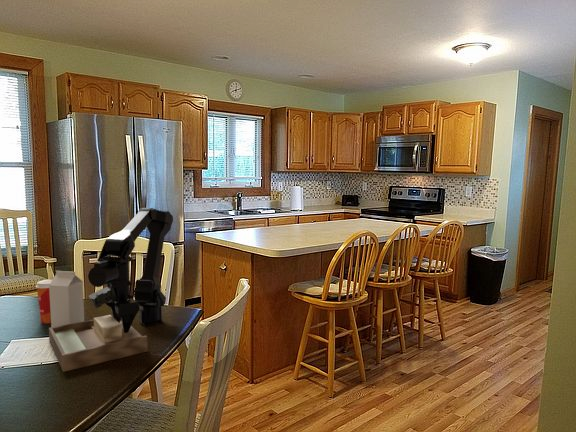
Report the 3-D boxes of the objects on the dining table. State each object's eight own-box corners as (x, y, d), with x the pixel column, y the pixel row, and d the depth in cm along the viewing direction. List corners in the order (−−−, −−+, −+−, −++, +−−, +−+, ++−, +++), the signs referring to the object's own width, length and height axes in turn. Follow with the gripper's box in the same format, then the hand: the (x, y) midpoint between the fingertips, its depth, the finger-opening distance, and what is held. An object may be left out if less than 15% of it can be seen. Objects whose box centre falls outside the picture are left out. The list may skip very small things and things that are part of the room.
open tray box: (123, 326, 143) (123, 313, 143) (147, 351, 124) (147, 336, 123) (49, 342, 130) (48, 327, 130) (63, 371, 111) (62, 355, 110)
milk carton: (70, 331, 139) (67, 274, 137) (51, 329, 140) (48, 273, 138) (84, 323, 146) (82, 269, 144) (66, 322, 147) (63, 268, 145)
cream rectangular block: (111, 326, 135) (110, 314, 134) (122, 338, 125) (121, 325, 125) (94, 330, 132) (93, 317, 131) (104, 342, 122) (103, 329, 122)
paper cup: (44, 317, 152) (42, 278, 151) (66, 316, 153) (64, 278, 151) (33, 325, 144) (30, 284, 143) (56, 324, 145) (54, 284, 144)
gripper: (83, 276, 132) (86, 325, 133) (99, 289, 117) (101, 344, 118) (121, 271, 138) (123, 317, 140) (139, 283, 123) (141, 335, 125)
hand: (121, 328), depth 131 cm, fingers open, 9 cm apart
